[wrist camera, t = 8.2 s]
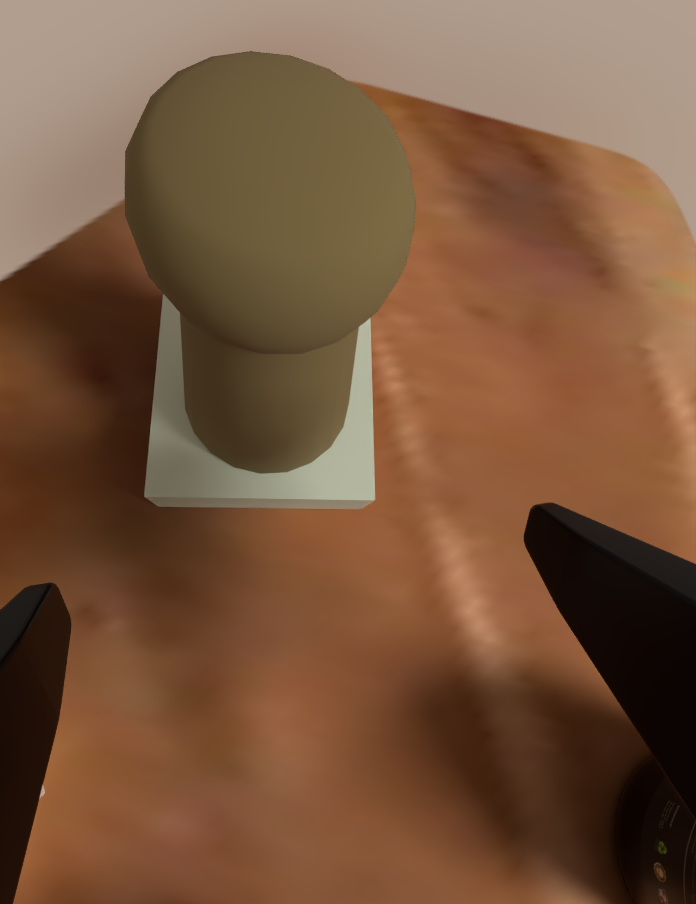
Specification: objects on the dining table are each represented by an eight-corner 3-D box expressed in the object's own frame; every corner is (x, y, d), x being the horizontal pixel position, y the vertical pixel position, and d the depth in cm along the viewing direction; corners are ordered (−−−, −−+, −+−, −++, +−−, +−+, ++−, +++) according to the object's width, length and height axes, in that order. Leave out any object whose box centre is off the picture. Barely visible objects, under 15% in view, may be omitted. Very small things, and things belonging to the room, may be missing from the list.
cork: (146, 397, 17) (-39, 105, 6) (262, 292, 19) (264, -68, 8) (275, 509, 17) (299, 393, 6) (380, 391, 19) (533, 149, 8)
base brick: (360, 509, 20) (374, 500, 18) (158, 506, 19) (144, 496, 16) (357, 334, 22) (370, 305, 20) (174, 320, 20) (163, 286, 18)
